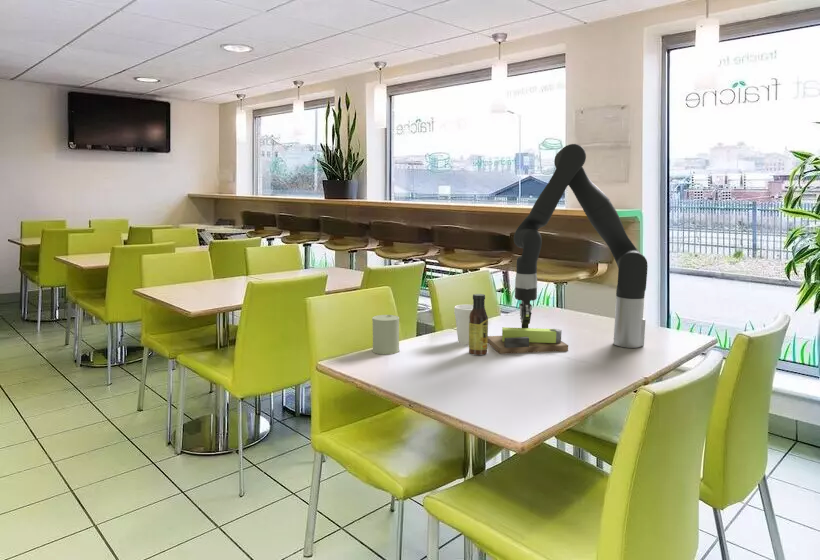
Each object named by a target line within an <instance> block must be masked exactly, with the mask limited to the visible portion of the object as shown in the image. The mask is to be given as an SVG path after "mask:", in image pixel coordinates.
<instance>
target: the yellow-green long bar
mask: <svg viewBox="0 0 820 560" xmlns="http://www.w3.org/2000/svg"><path fill="white" fill-rule="evenodd" d="M501 331H502V333H501V336H502V341H504V339H505V338H513V337H528V338H529V342H537V343H561V341H562V329H559V328H538V327H537V328H534V327H528V328H522V327H502V329H501Z"/></svg>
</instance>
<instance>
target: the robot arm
mask: <svg viewBox="0 0 820 560" xmlns="http://www.w3.org/2000/svg"><path fill="white" fill-rule="evenodd" d="M586 158H587V154H586V151H585V148H583V147H582V145H580V144H576V143H570V144H568V145H565V146H564V147H562V148H561V149H560V150H559V151H558V152H557V153H556V154H555V157H554V161H553V162H554V163H553V164H554V166H555V170H554V172H553V174H552V176H551V177H550V179H549V181H548V183H547V184H546V186H545V187H544V188H543V190H542V191H541V192H540V194H539V196H538V198H537V199H536V201H535V202H534V204H533V206H532V208H531V210H530V212H529V214H528V215H527V216H526V217H525V219H524V220H522V222H521V223H520V225H518V227H517V228H516V230H515V232H514V235H513V242H514V245H515V246H516V247H517V248H520V249H522V252H521V253H522V254H521V255H520V256H518V257H517V259H516V266H515V267H516V269H515V271H516V273H515V280H514V281H515V283H514V298H515V299H516V300H517V301H520V303H519V307H518V308H519V317H520V322H521V323H520V324H521V328H529V324H531V317H532V309H533V305H532V303H531V301H535V300H537V299H538V270H537V269H538V259H539V257H540V253H541V249H542V243H543V239H542V234H541V233H540V232H539V231H538V230H539V229H540V228H543V227H546V226H547V224H548V223H549V221H550V219H551V218H552V216H553V214H554V212H555V210H556V209H557V206H558V204H559V202H560V201H561V198H562V197H563V195H564V193H565V191H566V189H567V188H568V187H569V188H570V190H571V191H572V193H573V195H574V196H575V199H576V200H577V202H578V203H579V205H580V207H581V209H582V210H583V212H584V213H585V216H586V218H587V219H588V221H589V223H590V224H591V226H592V227H593V229H595V231H596V232H597V234H598V235H599V236H600V238H601V239H602V240H603V241H604V243H605V244H606V245H607V247H608V249H609V250H610V252H611V254H612V257H613V258H614V261H615V264H616V266H617V269H618V270H617V272H618V273H617V285H616V290H615V293H616V294H615V307H614V308H615V310H614V314H615V315H614V327H613V328H614V329H613V345H615V346H618V347H622V348H629V349H632V348H633V349H635V348H641V347H644V346H645V336H646V335H645V334H646V319H645V318H644V309H645V296H646V295H645V294H646V290H647V281H648V267H649V266H648V261H647V258H646V257H645V256H644V255H643V254H642V253H641V252H640V251H639V250H638V249H637V247H636V246H635V245H634V243H633V242H632V240H631V239H630V237H629V236H628V234H627V232H626V231H625V228H624V225H623V223H622V220H621V218H620V216H619V213H618V212H617V210H616V208H615V207H614V205H613V203H612V201H611V200H610V198H609V197H608V196H607V194H606V193H604V191H602V190H601V189H600V187H598V186H597V185H596V184H595V183H593V181H592V180H591V179H590V178H589V176H588V175H587V173H586V170H585V168H584V165H585V163H586V161H587V159H586Z"/></svg>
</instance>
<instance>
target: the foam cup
mask: <svg viewBox="0 0 820 560" xmlns="http://www.w3.org/2000/svg"><path fill="white" fill-rule="evenodd" d="M472 309H473V304H457V305H455V306H454V311H453V314H454V317H455V324H456V326H455V327H456V334H457V342H458V344H460V345H462V346H463V345H465V346H469V322H470V318H469V316H470V313H471V311H472Z"/></svg>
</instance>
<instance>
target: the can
mask: <svg viewBox="0 0 820 560" xmlns="http://www.w3.org/2000/svg"><path fill="white" fill-rule="evenodd" d="M371 319H372V321H371V322H372V350H371V351H372V353H374V354H378V355H394V354H398V353H400V317H399V316H398V315H393V314H378V315H375V316H373V317H371Z"/></svg>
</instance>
